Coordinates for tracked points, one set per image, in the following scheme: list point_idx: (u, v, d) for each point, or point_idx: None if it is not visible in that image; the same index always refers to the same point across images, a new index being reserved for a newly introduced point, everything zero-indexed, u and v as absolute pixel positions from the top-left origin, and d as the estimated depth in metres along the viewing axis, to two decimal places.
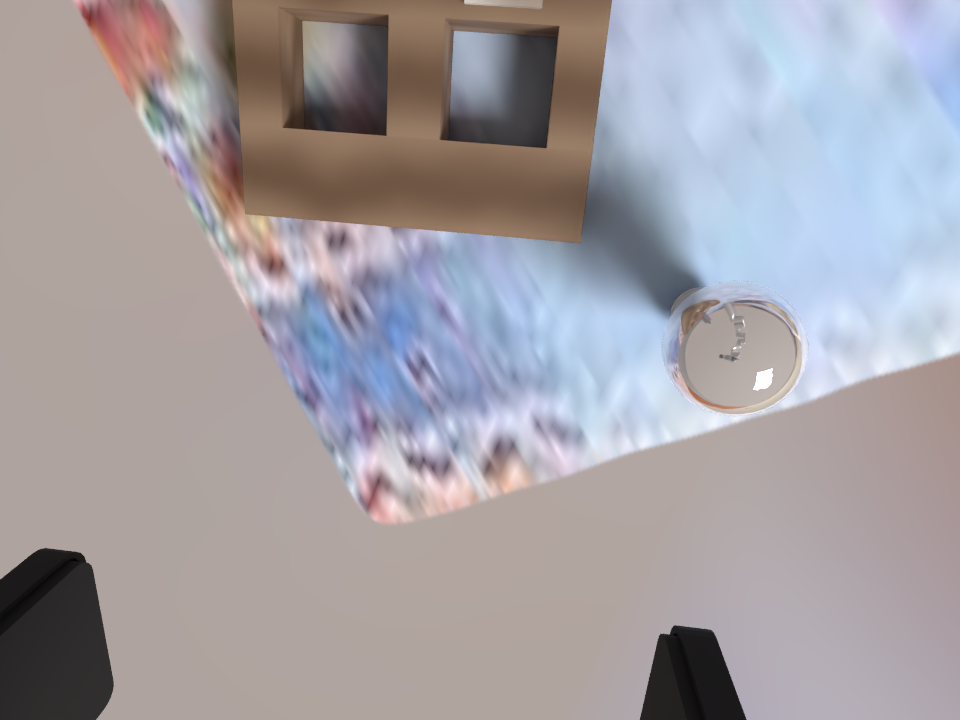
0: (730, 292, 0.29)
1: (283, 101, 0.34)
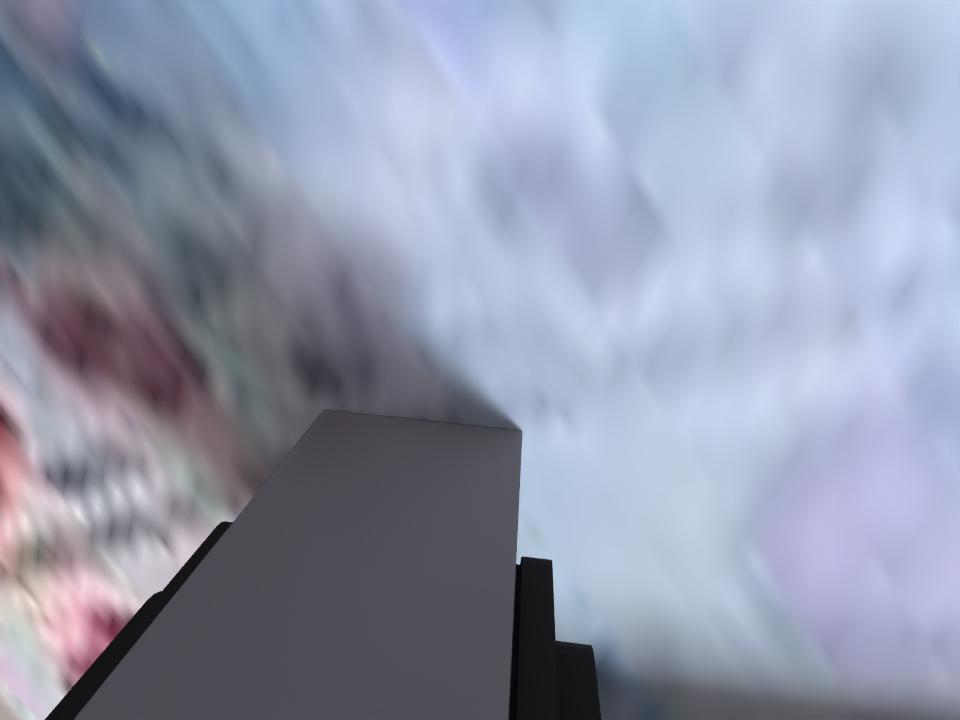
0: None
1: None
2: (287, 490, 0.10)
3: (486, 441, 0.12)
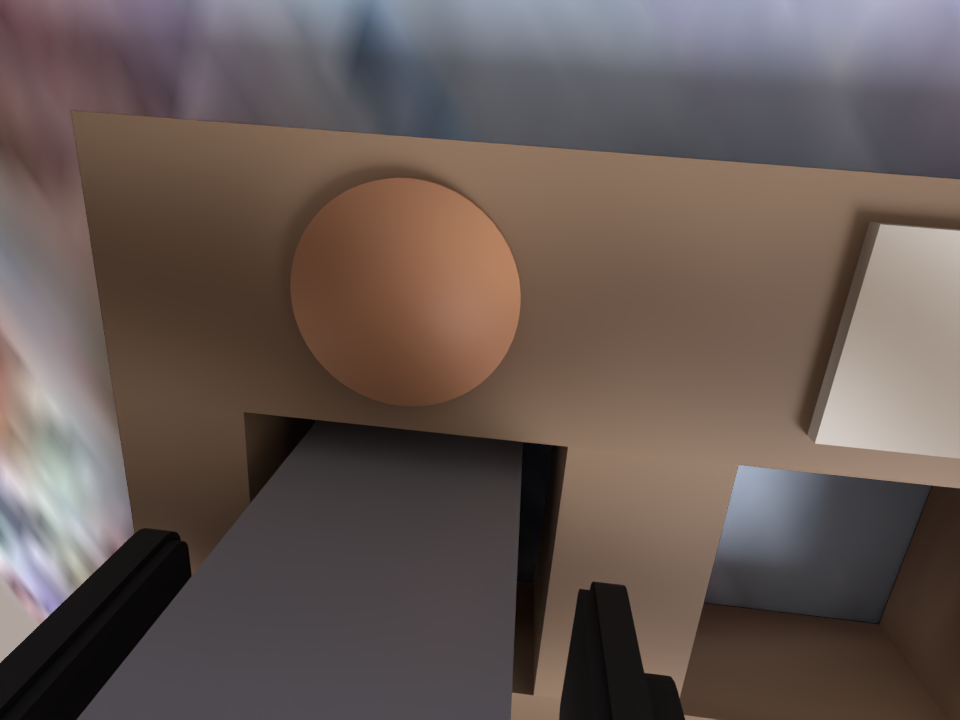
0: None
1: None
2: (318, 449, 0.12)
3: None
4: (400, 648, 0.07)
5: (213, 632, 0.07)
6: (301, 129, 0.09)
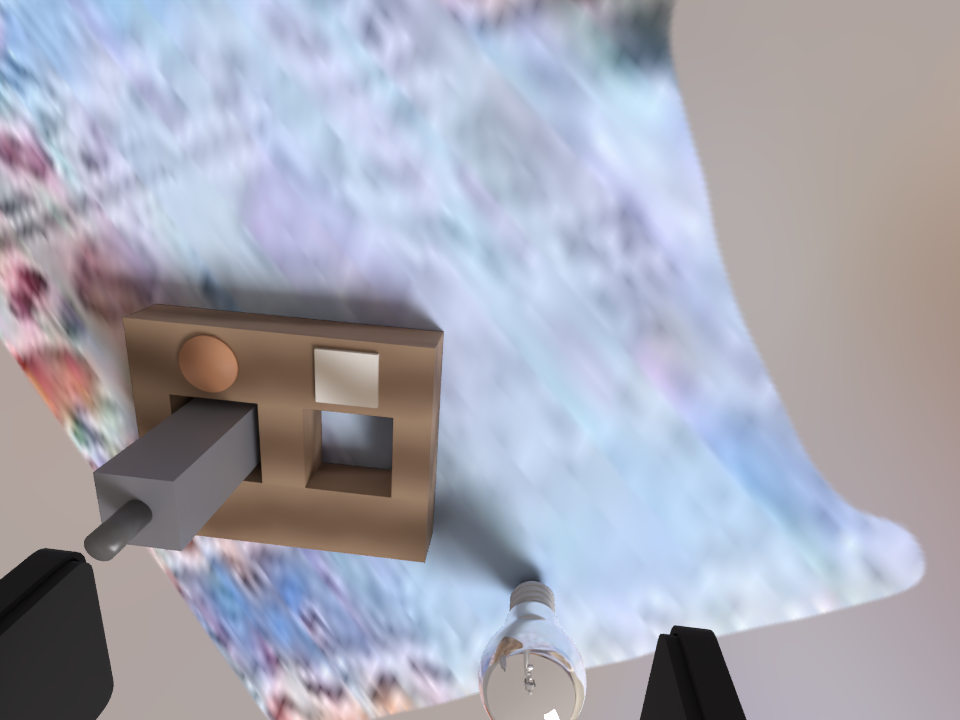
0: (520, 651, 0.36)
1: None
2: (191, 405, 0.40)
3: None
4: (193, 440, 0.35)
5: (154, 437, 0.35)
6: (179, 323, 0.37)
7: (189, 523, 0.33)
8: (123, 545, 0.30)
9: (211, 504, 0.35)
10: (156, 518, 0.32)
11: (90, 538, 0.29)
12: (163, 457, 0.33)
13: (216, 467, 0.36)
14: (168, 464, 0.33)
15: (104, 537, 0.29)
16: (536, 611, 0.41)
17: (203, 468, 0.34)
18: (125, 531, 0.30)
